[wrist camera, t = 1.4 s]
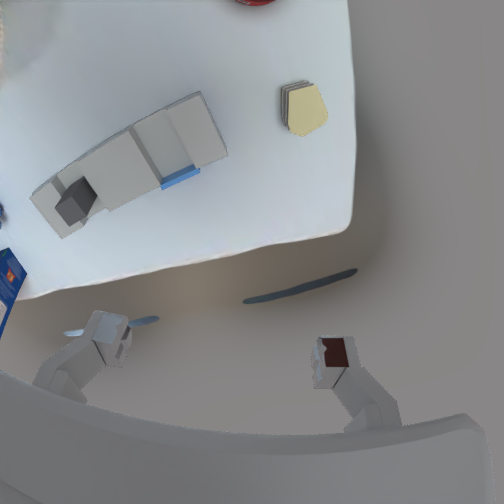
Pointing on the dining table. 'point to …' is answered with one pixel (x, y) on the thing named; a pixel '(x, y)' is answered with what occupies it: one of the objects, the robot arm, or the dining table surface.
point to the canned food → (255, 2)
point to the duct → (138, 160)
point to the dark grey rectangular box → (76, 201)
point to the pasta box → (9, 283)
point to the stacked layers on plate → (303, 108)
